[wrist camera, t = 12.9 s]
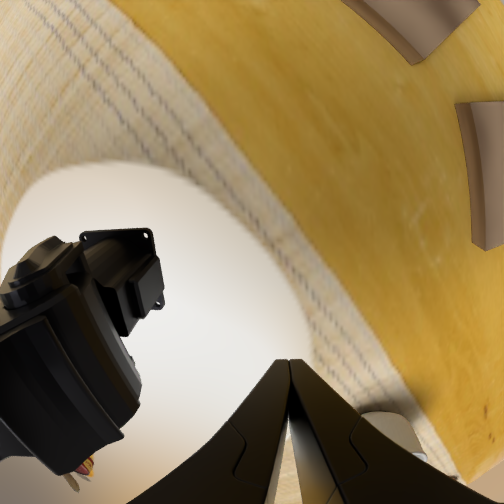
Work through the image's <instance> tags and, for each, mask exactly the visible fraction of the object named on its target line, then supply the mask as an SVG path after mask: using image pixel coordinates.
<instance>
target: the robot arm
mask: <svg viewBox="0 0 504 504" xmlns="http://www.w3.org/2000/svg"><path fill="white" fill-rule="evenodd" d="M144 233H146V234H147V235H148V238H146V237H144ZM84 236H85V237H86V239H85V238H84ZM79 240H80V241H78V242H75V243H72V242H70V243H65V242H63V241H61V240H60V239H59V238H58V237H56V236H52V237H49V238H47V239H46V240H44V241H42V242H40V243H39V244H37V245H35V246H34V247H32V248H31V249H30V250H28V251H27V253H26V254H25V255H24V256H23V257H22V258H21V259H20V261H19V262H18V263H17V264H16V265H14V266H13V267H11V268H10V269H9V270H8V272H7V274H6V276H5V278H4V280H3V282H2V284H1V286H0V462H1V461H3V460H4V459H6V458H8V457H11V456H27V457H36V458H37V459H38V460H40V462H42V463H43V464H44V465H45V466H46V467H47V468H48V469H49V470H51V471H52V472H53V473H54V474H56V475H58V476H60V475H64V474H67V473H70V472H73V471H75V470H76V469H77V468H78V467H79V466H80V465H81V464H82V463H83V462H85V461H86V460H87V459H88V458H89V457H90V456H91V455H92V454H93V453H95V452H96V451H98V450H99V449H101V448H103V447H104V446H106V445H107V444H110V443H113V442H116V441H119V440H121V439H123V438H124V434H123V433H122V432H121V430H120V428H122V427H123V426H124V425H125V424H126V423H127V422H128V421H129V420H130V419H131V418H132V417H133V416H134V415H135V413H136V411H137V409H138V408H139V407H140V402H139V400H138V399H139V397H140V392H141V387H142V384H141V379H140V375H139V373H138V371H137V370H136V368H135V362H134V360H133V358H132V356H130V355H129V354H128V352H127V350H126V348H125V346H124V344H123V342H122V340H121V338H120V336H121V337H128V336H129V334H130V332H131V331H132V329H133V328H134V326H135V325H136V323H137V322H138V320H139V319H144V318H145V317H146V316H147V314H148V313H149V311H150V310H161V309H162V308H163V307H164V305H165V300H164V295H163V290H164V282H163V276H162V271H161V265H160V259H159V258H158V256H157V255H156V251H155V244H154V237H153V232H152V231H151V230H150V229H148V228H132V229H131V228H130V229H112V230H96V231H84V232H82V233H81V234H80V236H79ZM156 302H159V303H160V305H159V304H157V303H156ZM288 418H289V426H290V432H291V438H292V444H293V450H294V455H295V461H296V467H297V473H298V478H299V484H300V490H301V496H302V502H303V504H504V503H498V502H495V501H493V500H491V499H489V498H487V497H485V496H483V495H481V494H479V493H477V492H476V491H473V490H472V489H470V488H468V487H466V486H465V485H463V484H461V483H459V482H458V481H456V480H454V479H453V478H451V477H449V476H447V475H446V474H444V473H442V472H441V471H439V470H437V469H436V468H434V467H433V466H431V465H429V464H428V463H426V462H424V461H423V460H421V459H420V458H418V457H417V456H415V455H413V454H412V453H410V452H409V451H407V450H406V449H404V448H403V447H401V446H400V445H398V444H397V443H395V442H394V441H393V440H391V439H390V438H388V437H387V436H386V435H384V434H383V433H382V432H380V431H379V430H378V429H377V428H376V427H374V426H373V425H372V424H371V423H370V422H369V421H368V420H366V419H365V418H364V417H362V416H361V415H360V414H359V413H358V412H357V411H356V410H355V409H354V408H353V407H352V406H351V405H350V404H348V403H347V402H346V401H345V400H344V399H343V398H342V397H341V396H340V395H339V394H338V393H337V392H336V391H335V390H334V389H333V388H331V387H330V386H329V385H328V384H327V383H326V382H325V381H324V380H323V379H322V378H321V377H320V376H319V375H318V374H317V373H316V372H315V371H314V370H313V369H312V368H311V367H310V366H309V365H308V364H307V363H305V362H304V361H303V360H302V359H290V360H289V361H288V360H287V359H276V360H275V361H274V362H273V364H272V365H271V366H270V368H269V369H268V370H267V371H266V373H265V374H264V376H263V377H262V378H261V379H260V381H259V382H258V383H257V384H256V386H255V387H254V388H253V390H252V391H251V392H250V394H249V395H248V396H247V397H246V398H245V400H244V401H243V402H242V403H241V405H240V406H239V407H238V408H237V410H236V411H235V412H234V413H233V414H232V416H231V417H230V418H229V419H228V421H226V422H225V423H224V425H223V426H222V427H221V428H220V429H219V430H218V431H217V433H216V434H215V435H214V436H213V437H212V438H211V439H210V440H209V441H208V442H207V443H206V444H205V445H203V446H202V447H201V448H200V449H199V450H198V451H197V452H196V453H194V454H193V455H192V456H191V457H189V458H188V459H187V460H186V461H185V462H183V463H182V464H181V465H180V466H178V467H177V468H175V469H174V470H173V471H172V472H170V473H169V474H168V475H166V476H165V477H164V478H162V479H161V480H160V481H158V482H157V483H156V484H154V485H153V486H151V487H150V488H149V489H147V490H146V491H144V492H143V493H141V494H140V495H139V496H137V497H136V498H134V499H133V500H131V501H130V502H128V503H127V504H274V500H275V495H276V490H277V485H278V479H279V474H280V468H281V462H282V457H283V451H284V444H285V438H286V432H287V424H288Z"/></svg>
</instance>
